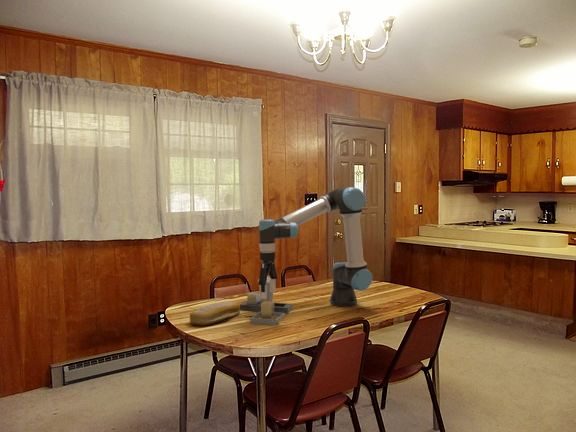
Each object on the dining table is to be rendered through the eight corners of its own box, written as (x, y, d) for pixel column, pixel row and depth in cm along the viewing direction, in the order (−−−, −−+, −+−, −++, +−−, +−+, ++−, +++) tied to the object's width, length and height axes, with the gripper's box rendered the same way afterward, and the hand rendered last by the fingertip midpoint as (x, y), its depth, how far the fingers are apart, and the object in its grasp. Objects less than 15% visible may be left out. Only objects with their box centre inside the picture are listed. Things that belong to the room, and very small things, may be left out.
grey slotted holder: (292, 311, 230) (292, 303, 230) (287, 315, 221) (287, 307, 221) (246, 307, 237) (246, 300, 237) (239, 312, 228) (239, 304, 228)
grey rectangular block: (259, 308, 233) (259, 293, 232) (256, 310, 228) (256, 295, 227) (250, 307, 234) (250, 292, 234) (247, 309, 229) (247, 294, 229)
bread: (245, 316, 221) (244, 301, 220) (204, 329, 200) (204, 312, 199) (226, 312, 229) (226, 297, 228) (185, 324, 208) (185, 307, 208)
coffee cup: (272, 306, 239) (272, 279, 238) (255, 305, 241) (255, 278, 240) (276, 302, 249) (276, 276, 248) (260, 301, 250) (260, 275, 250)
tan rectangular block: (274, 317, 215) (274, 301, 214) (271, 320, 210) (271, 304, 209) (264, 317, 216) (264, 300, 216) (261, 319, 211) (261, 303, 211)
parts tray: (284, 317, 217) (284, 313, 217) (276, 325, 205) (276, 320, 205) (259, 315, 221) (259, 311, 221) (250, 323, 209) (250, 318, 208)
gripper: (268, 248, 224) (269, 289, 226) (250, 255, 200) (252, 301, 202) (282, 248, 222) (283, 289, 223) (266, 255, 198) (267, 302, 200)
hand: (268, 295), depth 213 cm, fingers open, 13 cm apart
